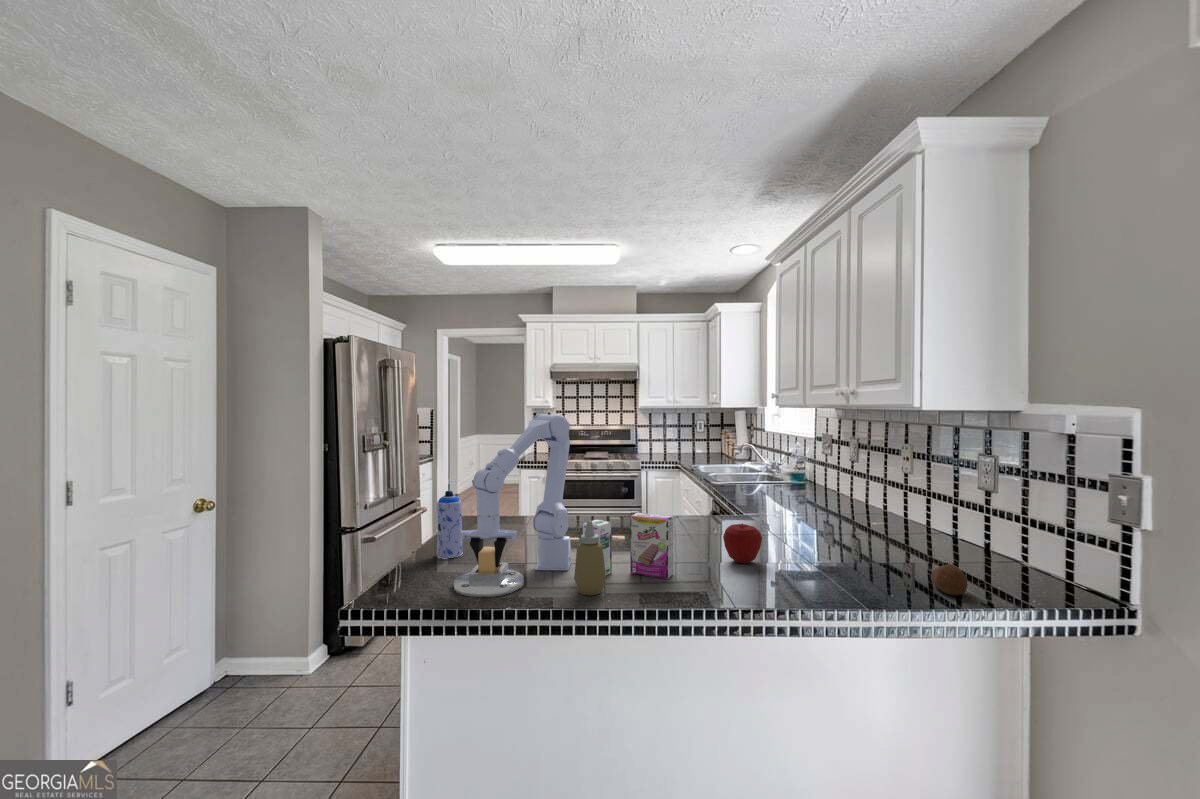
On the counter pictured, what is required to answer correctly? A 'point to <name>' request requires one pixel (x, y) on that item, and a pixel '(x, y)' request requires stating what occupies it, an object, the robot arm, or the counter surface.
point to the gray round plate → (489, 582)
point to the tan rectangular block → (487, 560)
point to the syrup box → (603, 541)
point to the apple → (742, 542)
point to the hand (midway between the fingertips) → (489, 566)
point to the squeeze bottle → (590, 563)
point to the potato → (949, 579)
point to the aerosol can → (449, 526)
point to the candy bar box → (651, 545)
